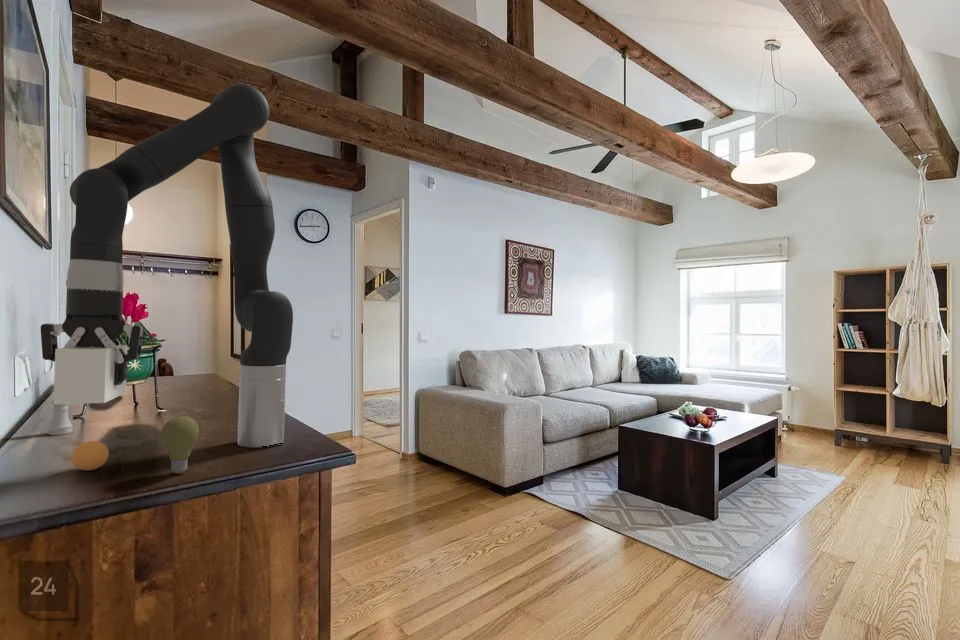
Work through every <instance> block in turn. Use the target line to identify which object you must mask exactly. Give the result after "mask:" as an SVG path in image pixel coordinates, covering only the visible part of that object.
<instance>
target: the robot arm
mask: <svg viewBox="0 0 960 640" xmlns="http://www.w3.org/2000/svg"><path fill="white" fill-rule="evenodd" d="M269 117H270V105H269V104H268V101H267V99H266V97H265V95H264V94H263V93H262V92H261V91H260V90H259V89H257V88H256V87H253V86H252V85H249V84H245V83H235V84H232V85H229V86H227V87H225V88H223V90H221V91H220V92H218V93H217V94H215V96H214V97H213V98H212V100H211V101H210V104H209V106H207V107H205V108H204V109H202V110H201V111H200V112H197V113H196V114H194V115H193V116H191V117H189V118H187V119H185V120H183V121H181V122H179V123H177V124H174V125H172V126H170V127H168V128H167V129H164V130H162V131H159V132H158V133H156V134H154V135H152V136H150V137H148V138H146V139H144V140H142V141H139V142H138V143H137V144H134V145H133V146H131V147H129V148H127V149H126V150H124V151H123V152H122V153H121V154H119V155H118V156H117V157H116V158H114V159H112V160H111V161H109V162H107V163H105V164H103V165H101V166H99V167H96V168H89V169H86V170H84V171H82V172H81V173H80V174H79V175H77V177H76V178H75V179H74V180H73V181H72V182H71V185H70V187H69V197H70V199H71V201H72V203H73V205H74V206H75V222H74V227H73V229H72V230H71V234H70V245H69V246H70V247H69V262H68V263H69V264H68V269H67V274H66V275H67V276H66V281H65V286H66V300H65V301H66V302H65V320H64V321H63V323H55V324H54V323H43V324H41V325H40V338H41V354H42V359H43V360H46V361H51V362H54V363H55V349H59V347H58V346H59V344H58V337H59V336H60V335H61V333H62V332H63V331H64V333H65V334H66V335H67V336H68V337H69V340H67V342H66V343H65V345H64V346H63V348H74V347H91V346H93V347H100V348H103V347H106V348H114V351H115V361H116V364H115V369H114V385H121V384H122V383H123V381H125V380H126V381H127V378H128V363H130V361H134V360H136V359H140V357H141V356H142V355H141V353H142V347H143V339H144V332H145V331H144V330H145V328H144V326H143V325H141V324H140V325H127V324H125V322H124V321H123V311H124V310H123V309H124V306H123V302H124V271H123V270H124V269H123V251H124V250H123V249H124V247H123V246H124V245H123V242H124V241H123V236H124V228H125V224H126V218H127V213H128V212H127V211H128V207H129V206H128V204H129V202H130V201H132V200H133V199H135V198H136V197H138V195H140V194H142V193H143V192H144V191H146V190H148V189H151V188H153V187H155V186H157V185H159V184H161V183H163V182H164V181H166V180H168V179H170V178H171V177H173V176H174V175H176V174H178V173H179V172H180V171H182V170H184V169H185V168H187V167H188V166H189V165H191V164H193V163H194V162H195V161H197V160H198V159H199V158H201V157H202V156H204V155H205V154H207V153H209V152H210V151H212V150H213V149H214V148H216V147H217V151H218V156H219V161H220V170H221V181H222V188H223V189H222V190H223V195H224V196H223V197H224V206H225V216H226V222H227V223H226V224H227V229H228V235H229V245H230V252H231V258H232V259H231V261H232V267H233V284H234V285H233V287H234V289H233V290H234V291H233V292H234V293H233V295H234V302H233V303H234V314H235V317H236V320H237V322H238V325H239V326H240V327H241V328H242V329H244V330H245V331H247V332H251V335H250V336H251V337H250V343H249V344H248V346H247V347H246V348H245V349H244V350H243V349H242V351H241V353H240V359H239V361H240V362H239V363H240V364H239V384H238V385H239V387H238V390H239V391H238V414H237V416H238V417H237V418H238V419H237V445H238V447H244V448H263V447H262V446H267V447H270V446H269V445H273V444H277V443H283V444H284V442H283V441H284V440H285V413H286V411H285V410H286V380H287V379H286V378H287V357H288V355H289V353H290V351H291V348H292V347H291V346H292V335H293V327H294V326H293V325H294V309H293V306H292V303H291V301H290V299H289V297H287V296H286V295H285V294H283V293H281V292H278V291H275V290H274V291H271V290H270V288H269V283H268V273H267V272H268V271H267V270H268V268H267V267H268V262H269V261H268V260H269V257H270V254H271V253H270V252H271V250H272V247H273V243H274V239H275V233H276V226H275V225H276V224H275V216H274V215H275V214H274V208H273V207H274V206H273V205H274V204H273V201H272V198H271V197H272V196H271V194H270V191H269V189H268V187H267V185H266V183H265V180H264V179H263V177H262V175H261V173H260V171H259V168H258V165H257V161H256V155H255V145H254V141H255V140H254V139H255V138H254V134H255V133H257V132H258V131H260V130H262V128H264V127H265V125H266V124H267V122H268V121H269ZM124 332H125V333H126V336H127V337H128V338H130V340H129V346H128V353H127V354H126V353H125V352H124V350H123V347H122V344H121V342H120V341H119V339H118V338H119V337H120V336H121V335H122V334H123V333H124ZM277 445H278V444H277ZM273 446H274V445H273Z"/></svg>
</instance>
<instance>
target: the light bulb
mask: <svg viewBox="0 0 960 640" xmlns="http://www.w3.org/2000/svg"><path fill="white" fill-rule="evenodd" d="M160 434H161V440H162V443H163V445H164V447H165V448H166V451H167V453H168V457H169V459H170V463H171V465H170V467H171V468H170V470H171V472H173V473H174V474H175V475H182V474H183V473H184V472H185V471H186V470H187V469H188V460H189V457H190V456H191V453H192V450H193V449H192V448H193V447H194V445H195V444H196V442H197V439H198V437H199V434H200V427H199V425H198V423H197V421H196V420H195V419H194V418H192V417H190V416H185V415H180V416H174V417H172V418H171V419H169V420H168V421H167V422H166V423H165V424H164V426H163V427H162V429H161V433H160Z"/></svg>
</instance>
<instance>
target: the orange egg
mask: <svg viewBox="0 0 960 640" xmlns="http://www.w3.org/2000/svg"><path fill="white" fill-rule="evenodd" d="M108 458H109V449H108V446H106V444H105V443H103V442H101V441H98V440H90V441H89V440H88V441H85V442H83V443H81V444H80V445H79V444H78V446H77V447H76V448H75V449H74V450H73V452H72V455H71V463H72V464H73V466H74V467H75V468H76V469H78V470H82V471H86V472H87V471H93V470H97V469H98V468H100V467H102V466H103V465H104V464H105V463H106V462H107V460H108Z"/></svg>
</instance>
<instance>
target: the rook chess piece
mask: <svg viewBox="0 0 960 640" xmlns="http://www.w3.org/2000/svg"><path fill="white" fill-rule="evenodd" d="M53 403H54V399H53V400H52V401H51V405H53V408H52V409H51V410H52V411H53V415H52V419H51V422H50V423H49V425H48V426H47V432H46V434H47V435H48V434H49V436H64V435H68V434H71V433H73V431H74V429H73V423H71V420H70V419H69V412H68V410H69V404H53Z"/></svg>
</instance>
